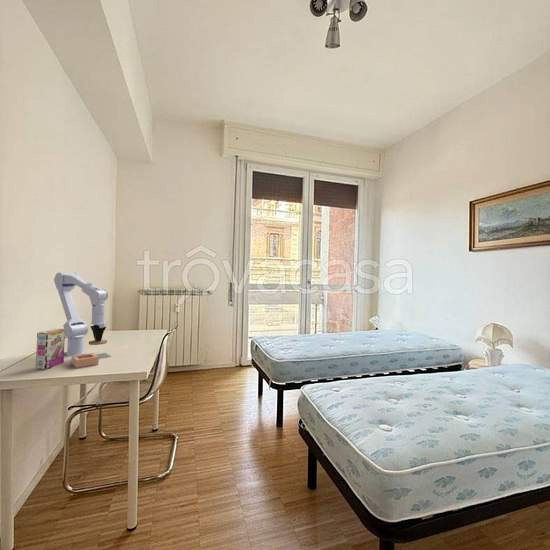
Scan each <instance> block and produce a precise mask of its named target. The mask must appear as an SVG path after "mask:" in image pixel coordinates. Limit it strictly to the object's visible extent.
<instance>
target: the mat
mask: <svg viewBox="0 0 550 550" xmlns="http://www.w3.org/2000/svg"><path fill="white" fill-rule="evenodd" d="M96 355H97V356H98V357H99V360H101V359H106V358H112V356H111V355H109V354H108V353H107V352H103V353H97V354H96Z"/></svg>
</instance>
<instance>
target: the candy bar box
mask: <svg viewBox="0 0 550 550" xmlns="http://www.w3.org/2000/svg"><path fill="white" fill-rule="evenodd" d="M65 338H66V336H65V329H64V328H53V329H48V330H43V331H39V332H37V336H36V356H35V370H38V369H46V370H48V368H49V369H51V368H52V367H55V366H58V365H61V364H64V363H65V362H64V361H65V344H66V343H65V340H66V339H65Z"/></svg>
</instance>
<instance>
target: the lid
mask: <svg viewBox="0 0 550 550" xmlns="http://www.w3.org/2000/svg"><path fill="white" fill-rule="evenodd" d="M107 343H108V340H107V339H101V340H100V341H96V336H95V339H93V340H89V341H88V345H89V346H97V345H98V346H99V345H104V344H105V345H106V344H107Z"/></svg>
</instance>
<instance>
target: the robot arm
mask: <svg viewBox="0 0 550 550" xmlns="http://www.w3.org/2000/svg"><path fill="white" fill-rule="evenodd" d="M53 282H54V285H55V288H56V290H57V292H58V293H57V294H58V296H59V299H60V302H61V305H62V308H63V312H64V315H65V319H66V320H67V321H66V322H65V323H64V324H63V325H62V327H63V329H65V338H66V339H67V341H66V342H67V344H66V345H67V346H66V351H64V354H66V355H67V357H72V356H76V355H83V354H87V352H86V351H85V337H86V335H88V332H89V327H88V325H87V324H86V321H85V320H84V319H83V318H81V317H80V316H79V313H78V310H77V308H76V307H77V306H76V304H75V301H74V298H73V296H72V291H73V290H74V289H75V287H76V286H77V287H78V288H80V289H81V291H82V292H83V293H84V294H85V295H87V297H89V300H90V304H91V305H90V306H91V322H90V323H91V326H90V328H91V331H92V335H93V338H94V339H93V340H95V336H96V341H100V340H103V337H104V336H103V335H104V332H105V330H106V329H107V326H105V324H106V323H107V324H108V321H107V320H106V319H105V318H106V317H105V316H106V301H107V299H108V297H109V294H108V291H107V290H106V289H100V287H98V286H96V285H94V283H93V282H86V281H85V280H84V279H83V278H81V276H80V274H78V273H77V272H57V273H56V274H55V275H54V278H53Z"/></svg>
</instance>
